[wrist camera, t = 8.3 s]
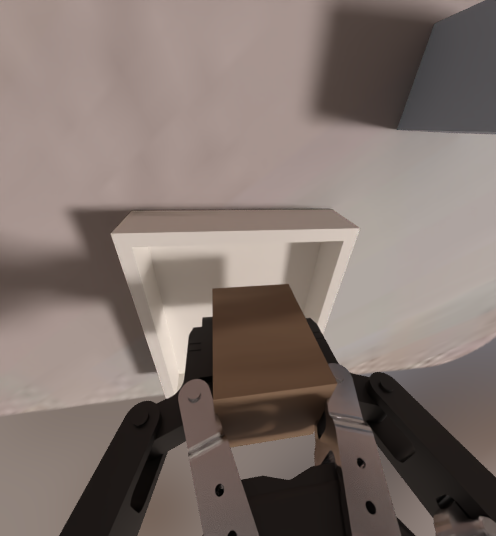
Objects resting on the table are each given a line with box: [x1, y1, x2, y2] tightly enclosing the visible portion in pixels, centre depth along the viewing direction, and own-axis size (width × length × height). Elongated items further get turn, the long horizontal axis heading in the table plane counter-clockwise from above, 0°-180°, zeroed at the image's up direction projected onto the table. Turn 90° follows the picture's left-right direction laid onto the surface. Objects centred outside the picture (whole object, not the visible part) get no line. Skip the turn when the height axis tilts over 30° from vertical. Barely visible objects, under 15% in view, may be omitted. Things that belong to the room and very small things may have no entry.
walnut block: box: [212, 284, 337, 448], centre depth 11 cm, size 4×4×6 cm
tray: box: [111, 209, 360, 399], centre depth 18 cm, size 14×18×4 cm
